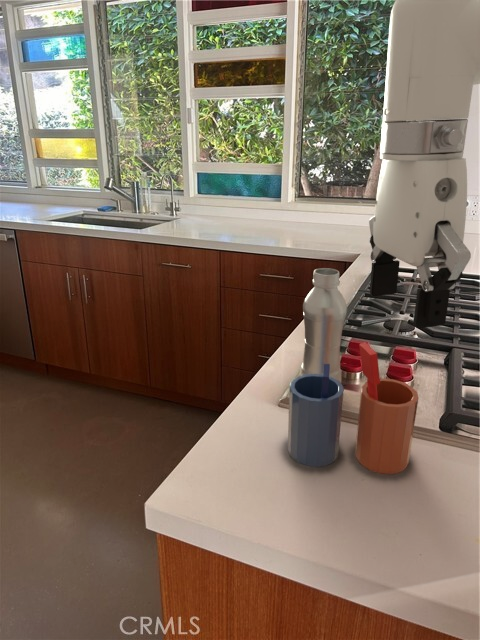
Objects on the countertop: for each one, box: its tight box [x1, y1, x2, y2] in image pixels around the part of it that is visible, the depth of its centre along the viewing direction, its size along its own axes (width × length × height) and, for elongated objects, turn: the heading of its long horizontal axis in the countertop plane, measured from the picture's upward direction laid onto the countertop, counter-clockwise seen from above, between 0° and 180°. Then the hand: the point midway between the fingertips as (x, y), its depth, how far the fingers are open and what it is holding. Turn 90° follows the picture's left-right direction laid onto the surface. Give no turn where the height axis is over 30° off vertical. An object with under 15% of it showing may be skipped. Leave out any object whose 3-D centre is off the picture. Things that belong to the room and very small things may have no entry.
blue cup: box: [287, 374, 344, 468], centre depth 58 cm, size 6×6×10 cm
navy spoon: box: [321, 364, 330, 398], centre depth 57 cm, size 1×2×13 cm, turn 168°
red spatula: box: [358, 341, 381, 401], centre depth 55 cm, size 1×3×16 cm, turn 10°
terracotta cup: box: [354, 378, 420, 475], centre depth 57 cm, size 6×6×10 cm
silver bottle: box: [298, 267, 348, 384], centre depth 70 cm, size 6×7×20 cm
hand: (404, 308), depth 51 cm, fingers open, 9 cm apart
